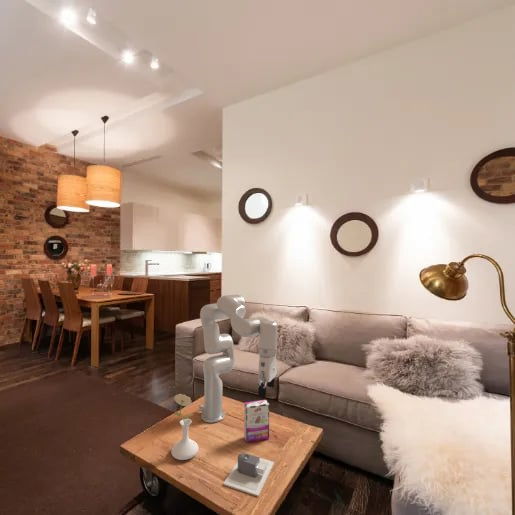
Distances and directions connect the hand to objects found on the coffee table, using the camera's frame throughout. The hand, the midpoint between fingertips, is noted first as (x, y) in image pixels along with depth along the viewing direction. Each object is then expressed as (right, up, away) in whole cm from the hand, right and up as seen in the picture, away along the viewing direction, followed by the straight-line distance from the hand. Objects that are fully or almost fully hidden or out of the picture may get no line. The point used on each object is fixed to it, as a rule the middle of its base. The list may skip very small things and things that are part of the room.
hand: (266, 391), depth 121 cm
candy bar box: (-4, -29, +15) cm, 33 cm away
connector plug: (-7, -28, -8) cm, 30 cm away
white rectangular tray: (-7, -29, -8) cm, 30 cm away
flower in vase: (-36, -28, +4) cm, 46 cm away
